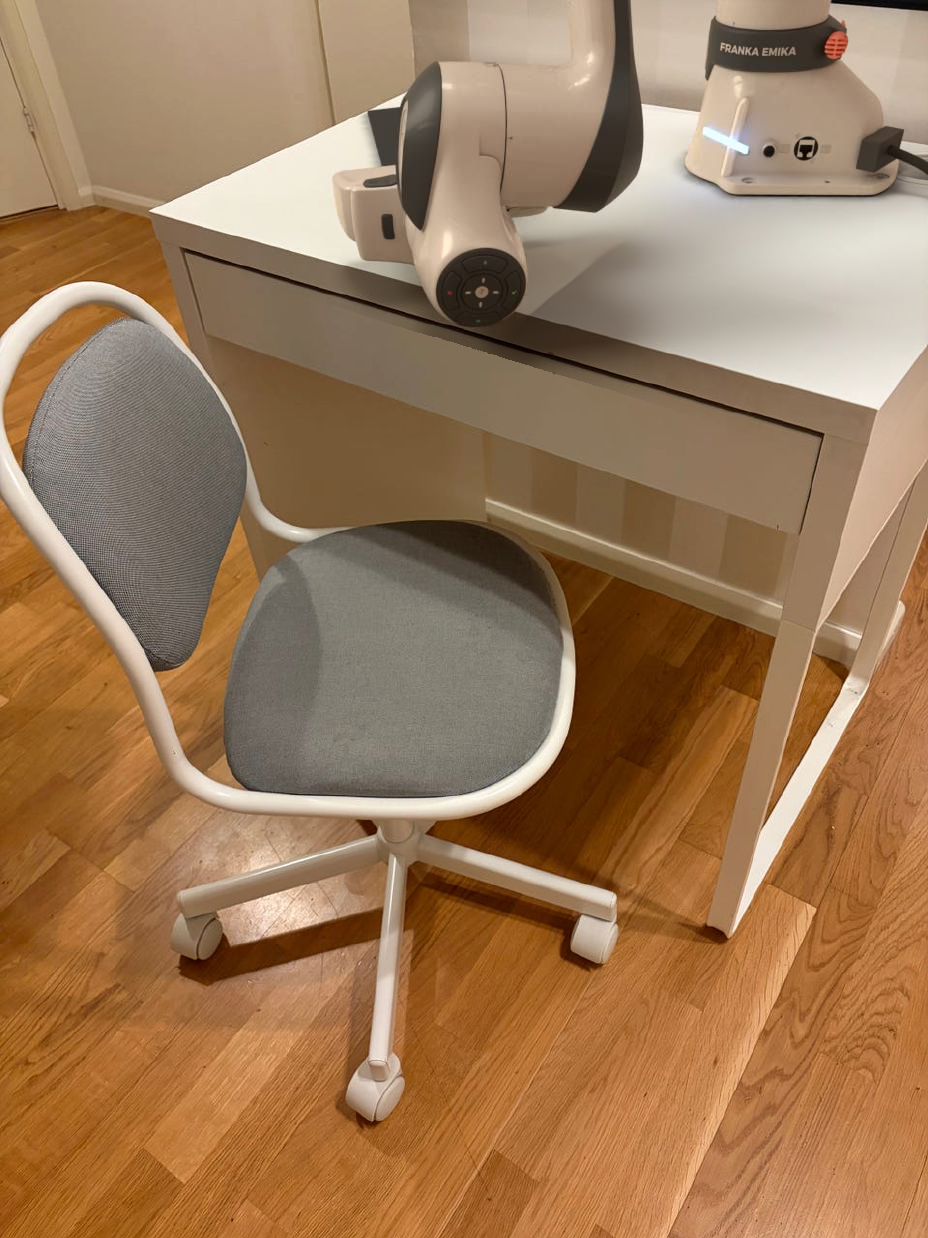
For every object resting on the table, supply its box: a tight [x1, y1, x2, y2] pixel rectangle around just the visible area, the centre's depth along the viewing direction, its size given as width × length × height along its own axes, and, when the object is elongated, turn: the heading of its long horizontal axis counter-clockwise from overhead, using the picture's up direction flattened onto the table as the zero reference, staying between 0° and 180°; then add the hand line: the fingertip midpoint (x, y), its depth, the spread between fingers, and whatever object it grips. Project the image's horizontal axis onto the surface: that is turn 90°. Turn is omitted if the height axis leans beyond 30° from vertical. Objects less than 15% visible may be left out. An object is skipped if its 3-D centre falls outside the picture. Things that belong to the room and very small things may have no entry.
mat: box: [367, 106, 400, 167], centre depth 115 cm, size 34×12×1 cm, turn 9°
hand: (432, 161), depth 93 cm, fingers closed
